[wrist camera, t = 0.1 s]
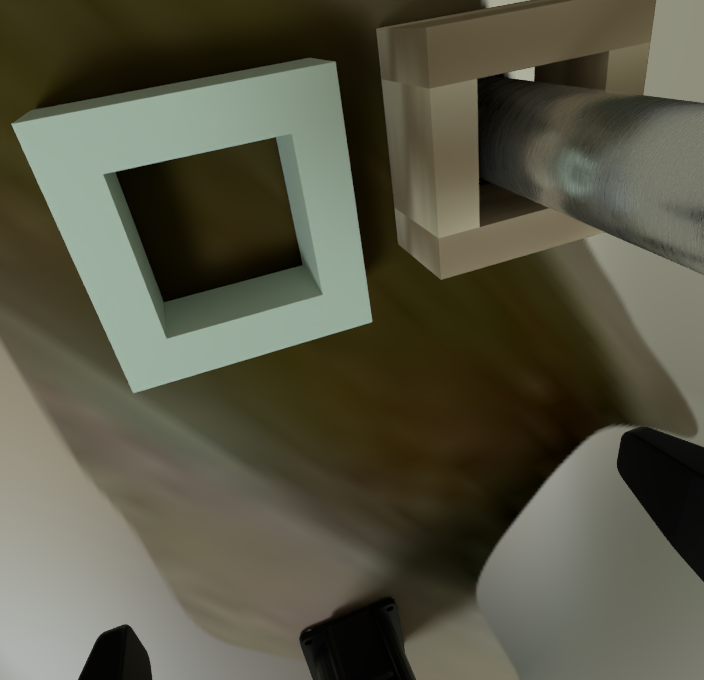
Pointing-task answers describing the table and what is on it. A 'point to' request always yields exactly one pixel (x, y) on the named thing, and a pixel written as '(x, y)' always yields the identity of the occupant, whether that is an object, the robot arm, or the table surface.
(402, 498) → the table surface
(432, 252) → the brown square frame
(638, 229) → the axle
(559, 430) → the table surface
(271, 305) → the socket block
